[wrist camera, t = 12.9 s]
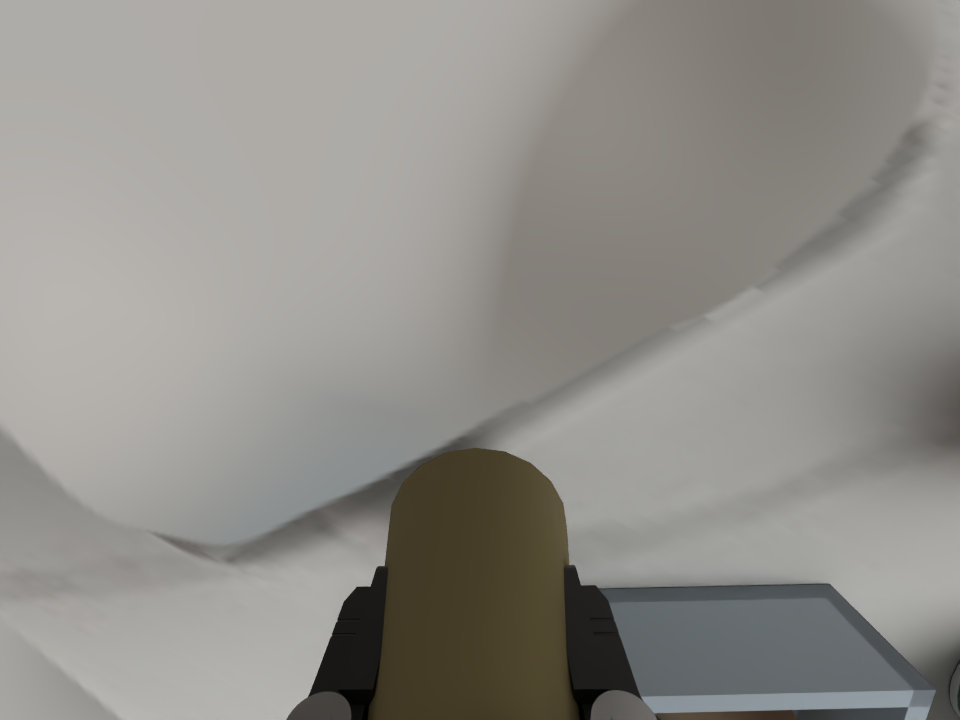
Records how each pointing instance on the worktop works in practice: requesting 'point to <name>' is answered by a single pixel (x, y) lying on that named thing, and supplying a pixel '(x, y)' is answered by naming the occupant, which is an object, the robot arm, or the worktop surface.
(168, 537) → the worktop surface
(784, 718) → the walnut cube
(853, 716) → the tote
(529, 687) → the cork
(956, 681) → the canned tomato
